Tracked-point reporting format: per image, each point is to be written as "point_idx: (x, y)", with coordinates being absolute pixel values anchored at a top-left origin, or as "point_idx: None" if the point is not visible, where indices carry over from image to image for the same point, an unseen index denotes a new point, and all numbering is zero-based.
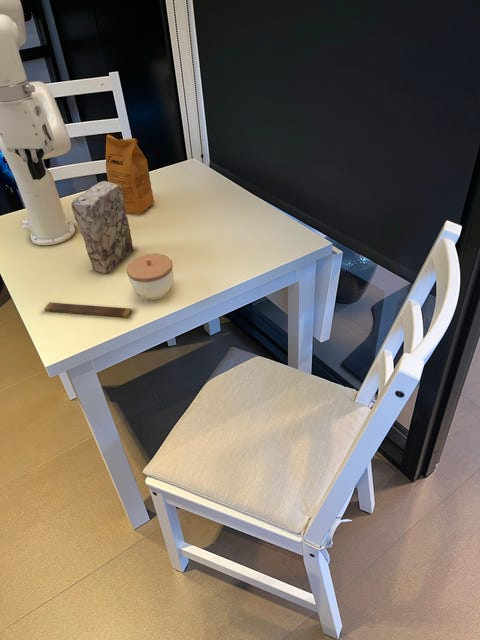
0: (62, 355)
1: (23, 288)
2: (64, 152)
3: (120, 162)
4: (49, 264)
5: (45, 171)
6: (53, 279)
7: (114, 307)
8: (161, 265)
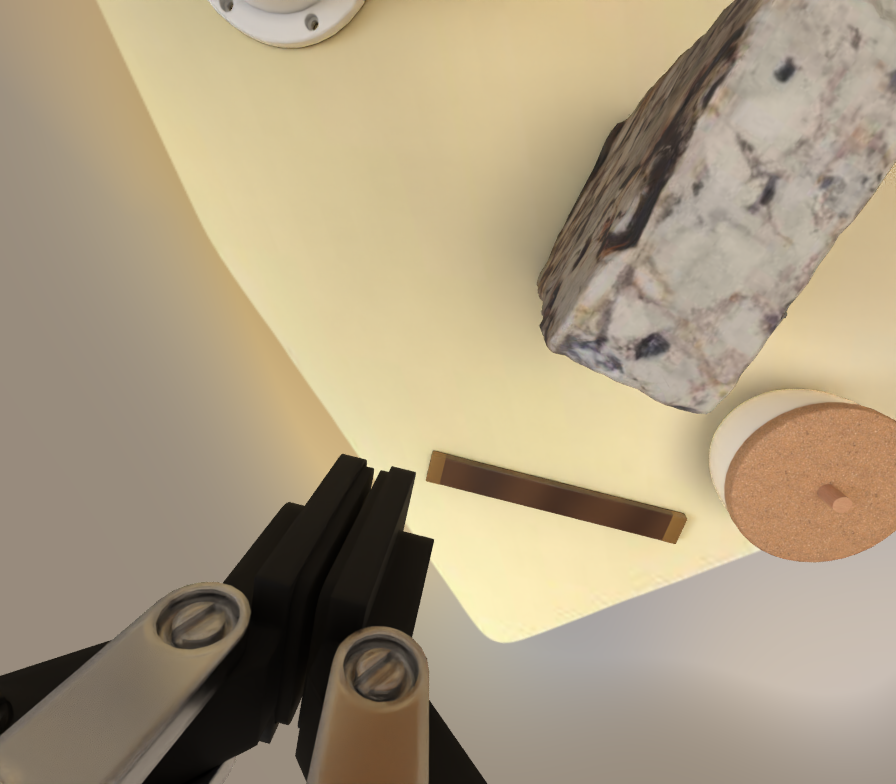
0: (516, 632)
1: (317, 354)
2: None
3: None
4: (354, 211)
5: (433, 542)
6: (401, 316)
7: (635, 506)
8: (877, 505)
